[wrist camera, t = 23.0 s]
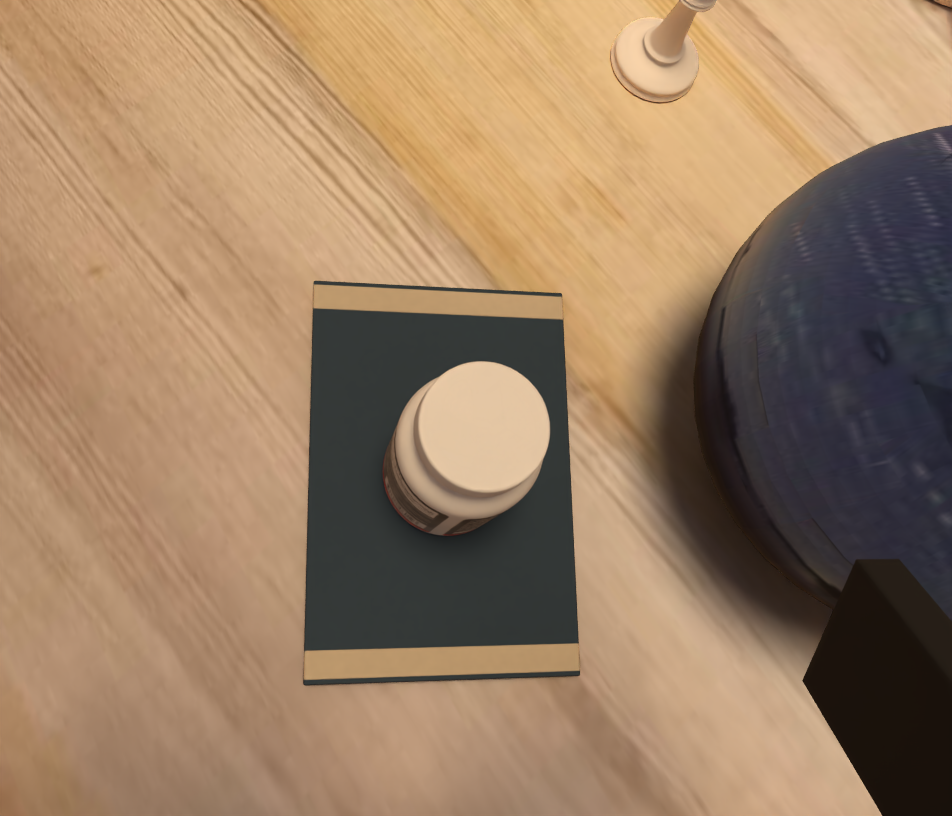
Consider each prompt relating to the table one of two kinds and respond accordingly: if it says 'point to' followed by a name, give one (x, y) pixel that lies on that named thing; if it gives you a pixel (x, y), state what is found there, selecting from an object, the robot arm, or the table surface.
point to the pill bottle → (466, 448)
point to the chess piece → (659, 53)
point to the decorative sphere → (840, 372)
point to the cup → (944, 2)
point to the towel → (406, 547)
